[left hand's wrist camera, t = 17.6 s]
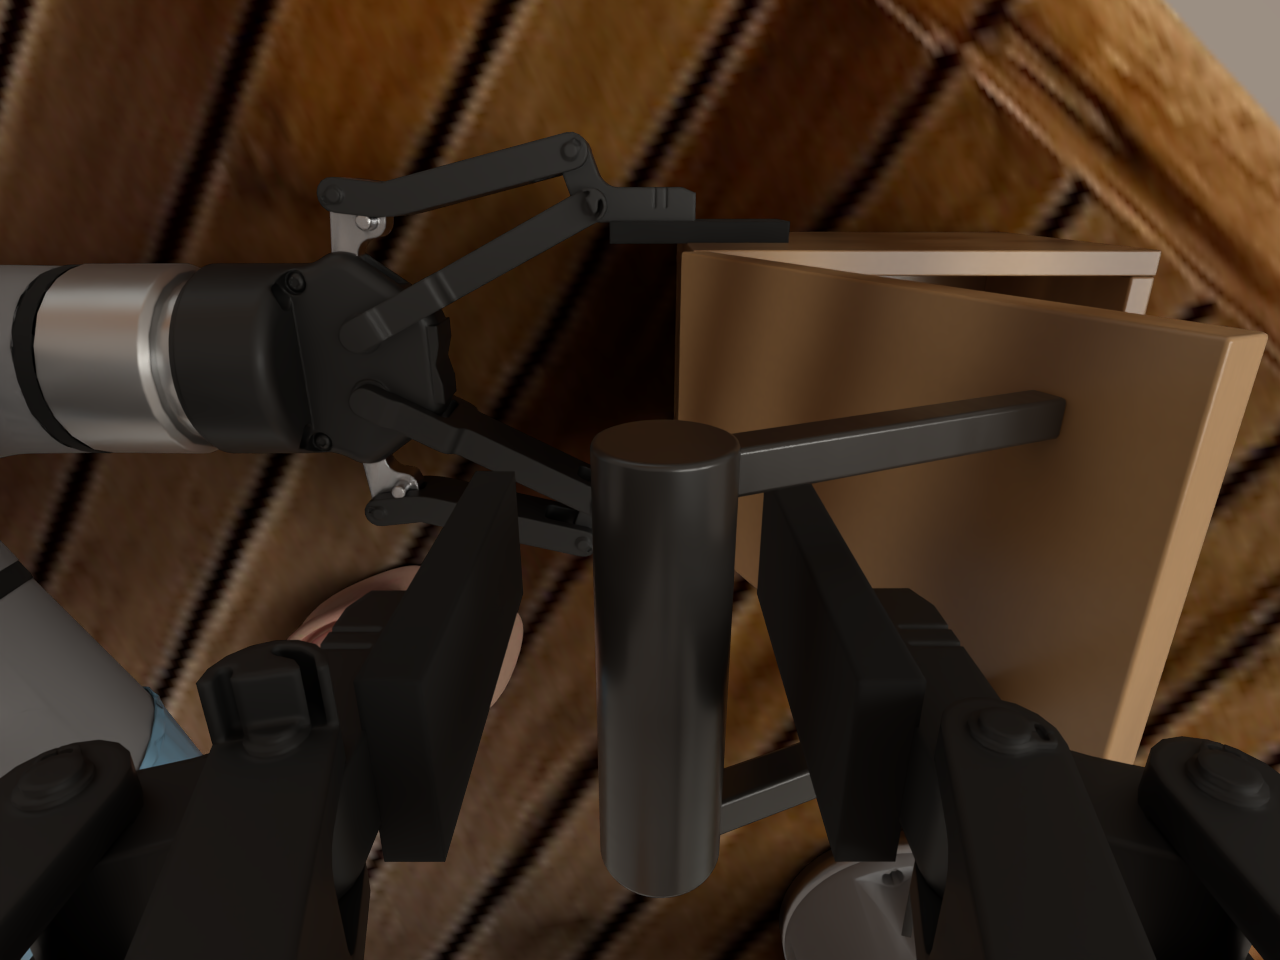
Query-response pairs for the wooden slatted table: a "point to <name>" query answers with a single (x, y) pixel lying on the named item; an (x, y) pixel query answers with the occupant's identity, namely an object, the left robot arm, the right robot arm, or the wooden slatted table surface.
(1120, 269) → the chest
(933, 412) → the lid
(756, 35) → the wooden slatted table surface
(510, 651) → the anatomical model
